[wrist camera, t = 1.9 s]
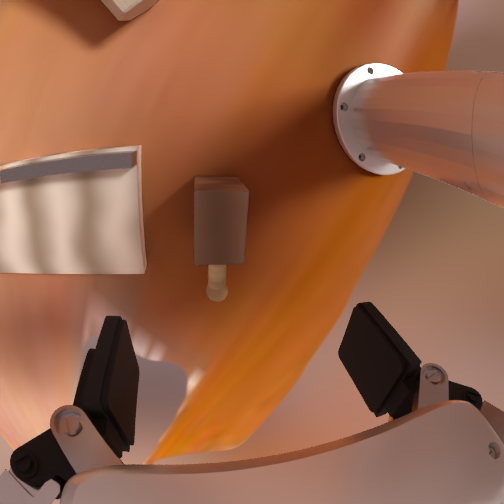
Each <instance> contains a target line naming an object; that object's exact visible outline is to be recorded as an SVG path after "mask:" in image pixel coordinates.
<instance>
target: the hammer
mask: <svg viewBox="0 0 504 504" xmlns="http://www.w3.org/2000/svg"><path fill="white" fill-rule="evenodd" d="M101 1H102V2H103V3H104V4H105V6H106V7H107V8H108V9H109V10H110V11H111V13H112V14H113V15H114V16H115V17H116V18H117V20H118V21H125V20H132V19H133V18H135V17H137V16H138V15H140V14H142V13H144V12H145V11H147V10H148V9H149V8H151V7H152V6H154V5H155V4H156V3H157V2H158V1H159V0H101Z"/></svg>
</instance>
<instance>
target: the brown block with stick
mask: <svg viewBox="0 0 504 504" xmlns="http://www.w3.org/2000/svg"><path fill="white" fill-rule="evenodd" d="M248 201H249V191H248V189H247V188H246V187H245V185H244V184H243V183H242V182H241V180H240V179H239V178H238V177H232V176H195V181H194V265H208V285H207V288H206V294H207V296H208V297H209V299H211V300H212V301H215V302H219V301H222V300H224V299H225V298H226V296H227V294H228V288H227V285H226V272H227V265H228V264H244V255H245V241H246V228H247V214H248Z"/></svg>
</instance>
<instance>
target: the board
mask: <svg viewBox="0 0 504 504" xmlns="http://www.w3.org/2000/svg"><path fill="white" fill-rule="evenodd" d="M136 150H137V165H135V166H134V167H132V168H122V169H107V170H95V171H84V172H74V173H65V174H57V175H50V176H42V177H36V178H29V179H23V180H17V181H11V182H6V183H1V184H0V273H33V274H144V273H145V270H146V266H147V259H146V249H145V237H144V223H143V206H142V176H141V145H137V146H122V147H109V148H99V149H89V150H81V151H73V152H66V153H59V154H53V155H46V156H41V157H35V158H30V159H25V160H20V161H15V162H11V163H6V164H2V165H0V169H3V168H7V167H12V166H17V165H22V164H27V163H32V162H38V161H44V160H50V159H56V158H63V157H71V156H79V155H87V154H97V153H108V152H120V151H136Z"/></svg>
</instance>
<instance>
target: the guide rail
mask: <svg viewBox="0 0 504 504" xmlns="http://www.w3.org/2000/svg"><path fill="white" fill-rule="evenodd" d="M135 165H137V150H136V151H120V152H108V153H97V154H87V155H79V156H71V157H63V158H56V159H50V160H44V161H38V162H32V163H27V164H22V165H17V166H12V167H7V168H3V169H0V184H1V183H6V182H11V181H17V180H23V179H29V178H36V177H42V176H50V175H57V174H65V173H74V172H84V171H95V170H107V169H122V168H132V167H134V166H135Z"/></svg>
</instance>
